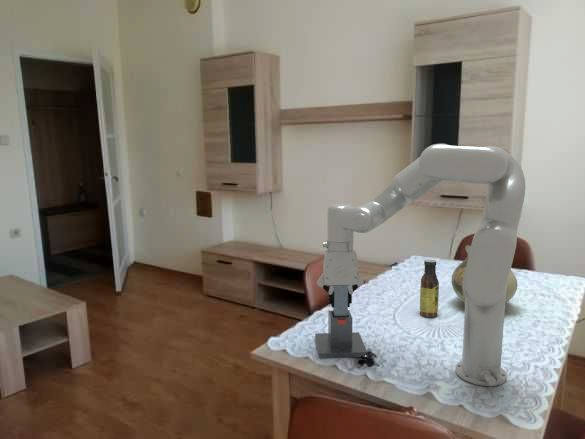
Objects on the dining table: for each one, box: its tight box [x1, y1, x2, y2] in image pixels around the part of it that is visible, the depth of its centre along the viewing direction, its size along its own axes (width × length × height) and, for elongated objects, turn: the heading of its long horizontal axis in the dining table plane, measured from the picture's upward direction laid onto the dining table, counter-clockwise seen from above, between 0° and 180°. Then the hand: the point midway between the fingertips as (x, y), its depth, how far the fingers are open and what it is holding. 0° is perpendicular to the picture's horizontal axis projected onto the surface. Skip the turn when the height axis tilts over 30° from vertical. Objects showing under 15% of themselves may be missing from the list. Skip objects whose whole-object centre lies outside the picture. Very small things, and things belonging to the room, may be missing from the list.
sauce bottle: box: [419, 259, 440, 318], centre depth 165 cm, size 6×6×20 cm
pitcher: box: [451, 243, 518, 307], centre depth 172 cm, size 22×24×25 cm
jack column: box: [332, 285, 349, 317], centre depth 140 cm, size 4×4×22 cm
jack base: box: [314, 309, 368, 359], centre depth 141 cm, size 14×14×10 cm
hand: (340, 305), depth 140 cm, fingers closed on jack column, 4 cm apart
